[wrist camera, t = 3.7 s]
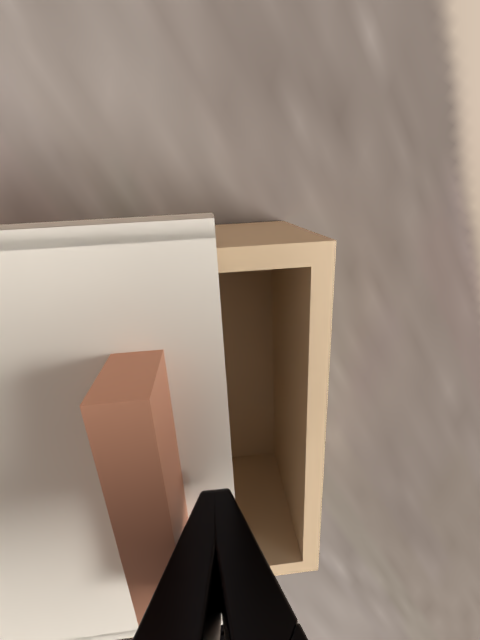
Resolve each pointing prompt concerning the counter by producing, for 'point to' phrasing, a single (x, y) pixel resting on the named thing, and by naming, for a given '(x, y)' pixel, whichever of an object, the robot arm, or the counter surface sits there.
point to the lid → (104, 415)
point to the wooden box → (277, 380)
